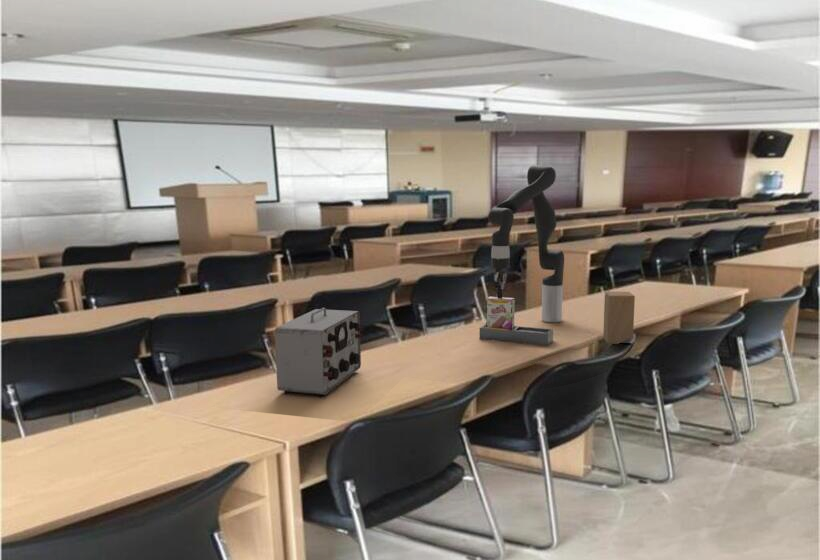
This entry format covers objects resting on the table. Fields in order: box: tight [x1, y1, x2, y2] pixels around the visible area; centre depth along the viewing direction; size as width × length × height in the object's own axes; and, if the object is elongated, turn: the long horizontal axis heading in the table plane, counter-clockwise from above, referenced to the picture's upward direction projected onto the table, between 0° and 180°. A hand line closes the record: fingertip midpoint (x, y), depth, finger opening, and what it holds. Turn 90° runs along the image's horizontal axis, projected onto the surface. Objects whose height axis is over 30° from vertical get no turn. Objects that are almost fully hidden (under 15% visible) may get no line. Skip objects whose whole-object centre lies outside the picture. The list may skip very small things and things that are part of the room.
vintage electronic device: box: [274, 307, 364, 398], centre depth 222 cm, size 32×18×25 cm, turn 163°
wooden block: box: [602, 291, 636, 345], centre depth 272 cm, size 10×10×20 cm
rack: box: [479, 323, 554, 347], centre depth 277 cm, size 8×29×5 cm, turn 65°
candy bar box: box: [485, 296, 516, 330], centre depth 279 cm, size 11×5×16 cm, turn 69°
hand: (500, 297), depth 278 cm, fingers closed
